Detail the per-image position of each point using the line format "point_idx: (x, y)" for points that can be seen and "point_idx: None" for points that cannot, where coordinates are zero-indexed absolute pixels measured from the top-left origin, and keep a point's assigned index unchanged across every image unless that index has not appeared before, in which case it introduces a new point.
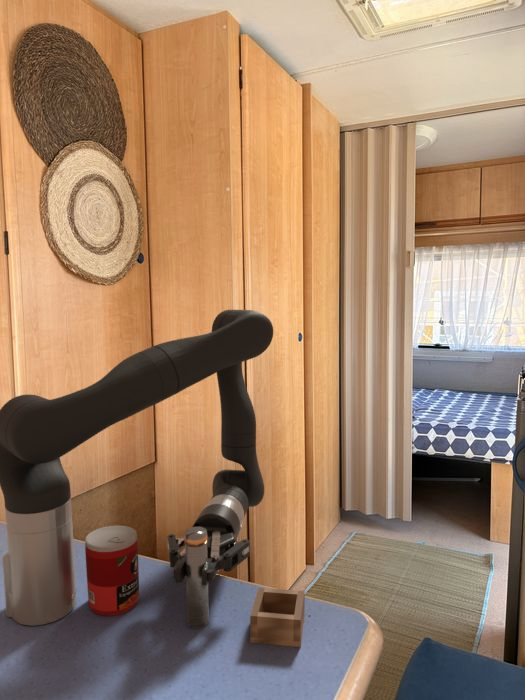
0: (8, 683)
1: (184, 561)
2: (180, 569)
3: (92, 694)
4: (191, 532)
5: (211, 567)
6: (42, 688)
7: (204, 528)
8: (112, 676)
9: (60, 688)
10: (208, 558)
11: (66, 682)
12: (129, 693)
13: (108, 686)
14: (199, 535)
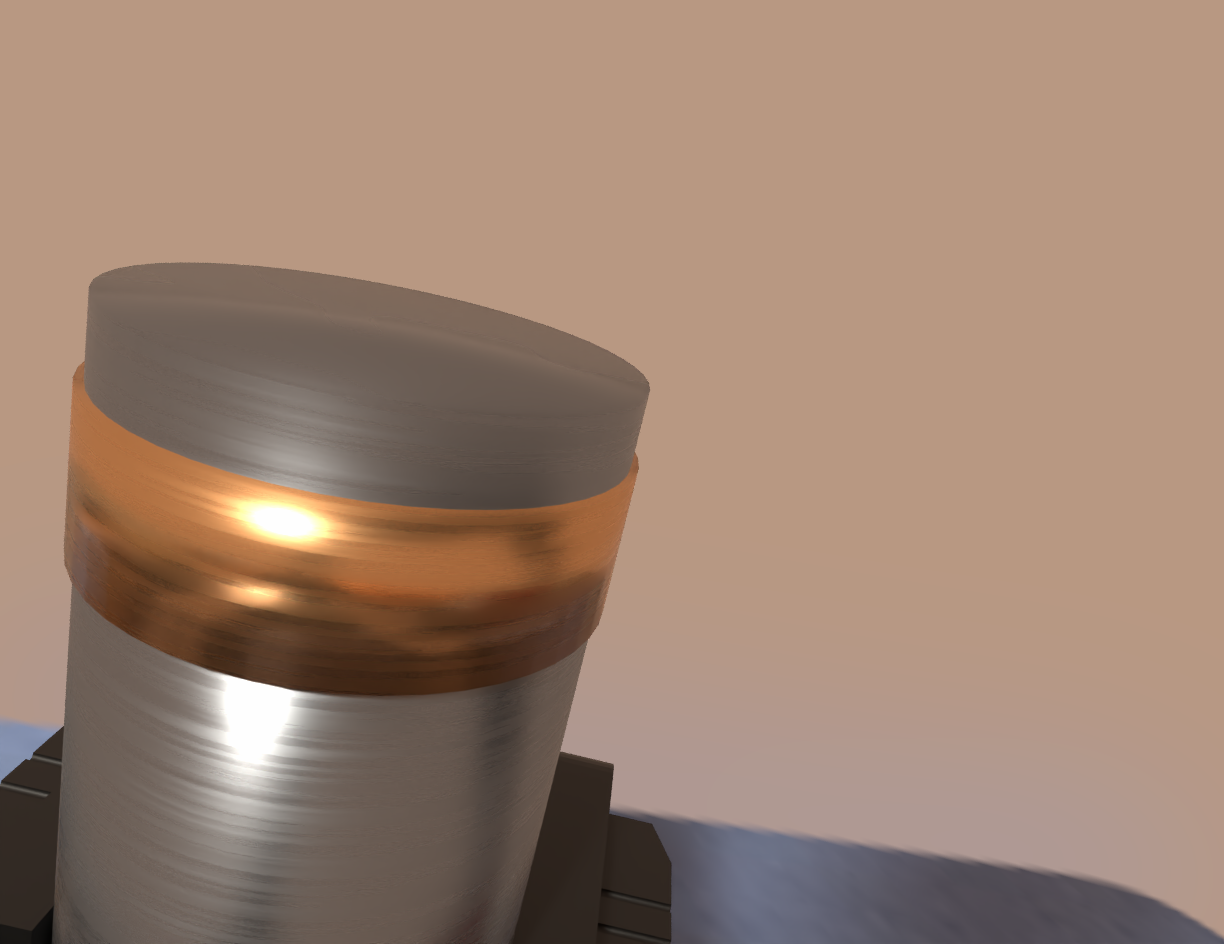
0: (1220, 940)
1: (526, 894)
2: None
3: (806, 836)
4: (490, 337)
5: (59, 782)
6: (1046, 894)
7: (126, 306)
8: (778, 916)
9: (969, 883)
10: (25, 927)
11: (974, 911)
12: (645, 816)
13: (762, 863)
14: (320, 279)
